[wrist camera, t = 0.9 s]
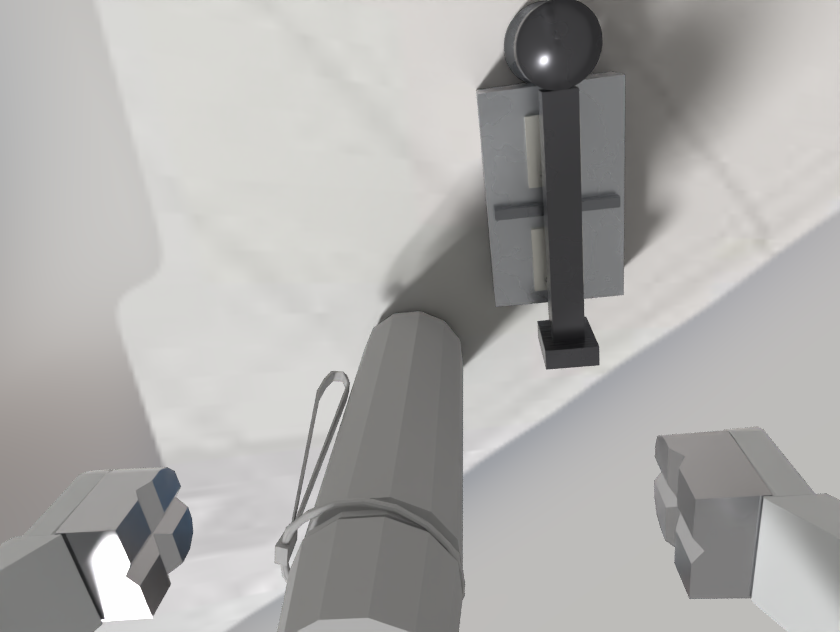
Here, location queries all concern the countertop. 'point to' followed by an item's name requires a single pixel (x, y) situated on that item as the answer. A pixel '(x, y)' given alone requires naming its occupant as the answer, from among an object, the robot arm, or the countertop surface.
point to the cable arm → (561, 166)
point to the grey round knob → (511, 36)
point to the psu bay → (523, 193)
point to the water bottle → (385, 493)
